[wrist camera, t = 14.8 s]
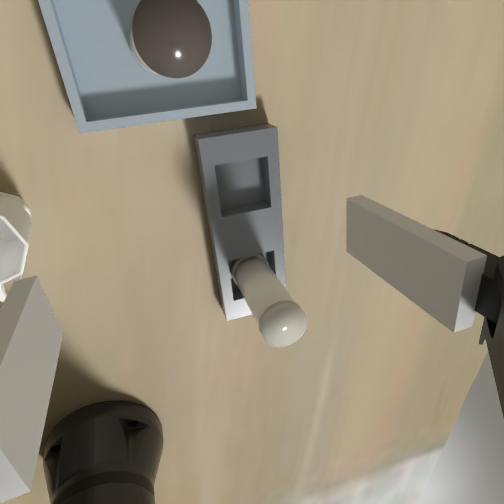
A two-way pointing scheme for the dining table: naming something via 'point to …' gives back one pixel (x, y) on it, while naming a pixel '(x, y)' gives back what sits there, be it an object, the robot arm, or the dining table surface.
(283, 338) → the cylinder
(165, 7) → the cylinder
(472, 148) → the dining table surface
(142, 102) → the parts tray
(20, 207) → the cup
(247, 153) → the fuse strip
